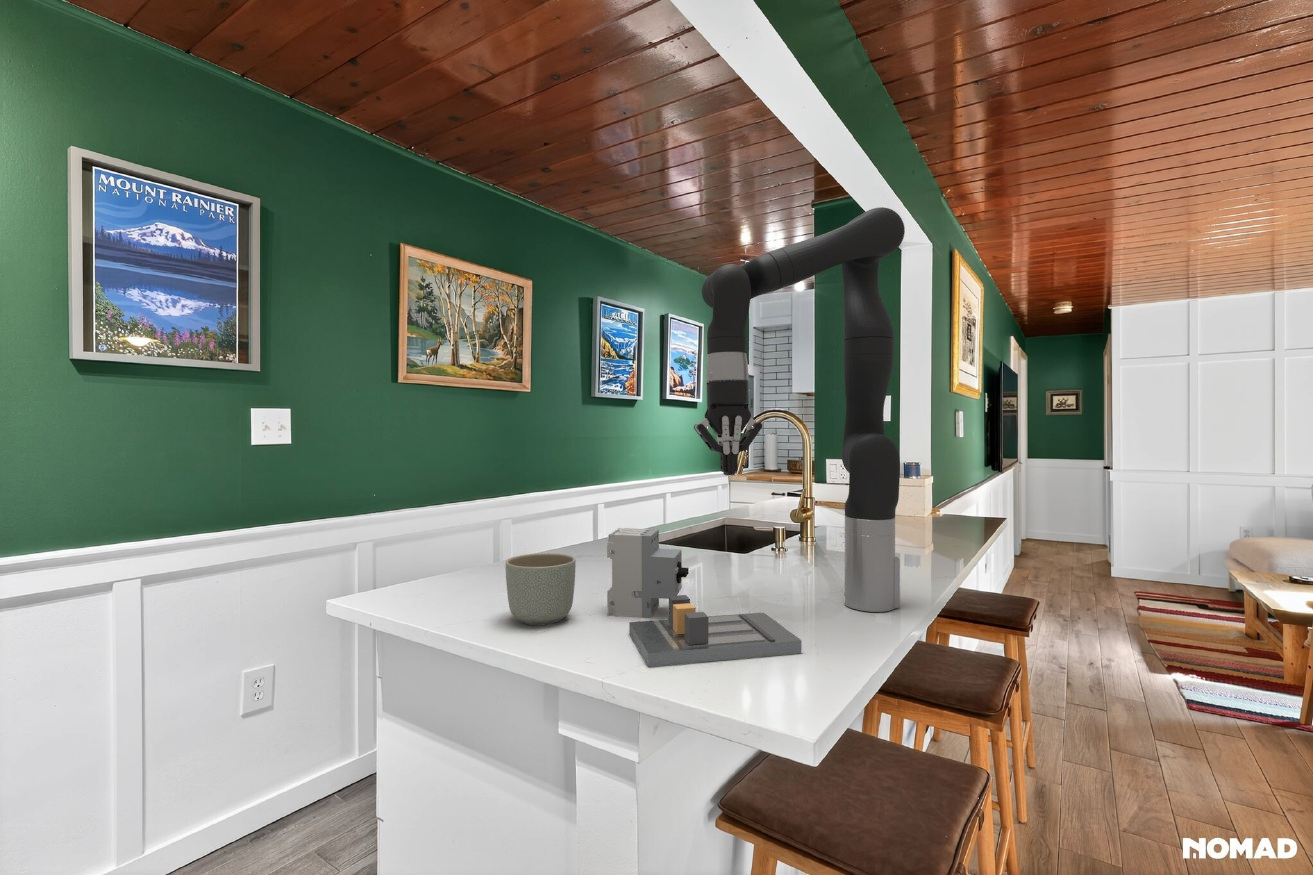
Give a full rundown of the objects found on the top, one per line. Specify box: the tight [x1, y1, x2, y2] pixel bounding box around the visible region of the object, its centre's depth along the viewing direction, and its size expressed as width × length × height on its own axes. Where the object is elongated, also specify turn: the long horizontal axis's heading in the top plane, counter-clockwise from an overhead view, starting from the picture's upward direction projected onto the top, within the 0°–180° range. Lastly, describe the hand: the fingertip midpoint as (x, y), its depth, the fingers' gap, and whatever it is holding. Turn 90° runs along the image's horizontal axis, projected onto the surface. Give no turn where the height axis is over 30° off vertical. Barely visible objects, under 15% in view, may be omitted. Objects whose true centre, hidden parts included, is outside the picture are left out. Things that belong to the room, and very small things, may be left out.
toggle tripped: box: [673, 602, 697, 634], centre depth 102 cm, size 3×3×4 cm
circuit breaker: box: [606, 527, 690, 619], centre depth 120 cm, size 8×14×15 cm, turn 78°
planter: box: [505, 552, 577, 626], centre depth 115 cm, size 12×12×11 cm
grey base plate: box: [628, 611, 803, 668], centre depth 103 cm, size 24×15×2 cm, turn 103°
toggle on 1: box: [668, 594, 691, 624], centre depth 107 cm, size 3×3×4 cm
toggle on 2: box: [684, 611, 709, 645], centre depth 97 cm, size 3×3×4 cm
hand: (729, 474), depth 116 cm, fingers closed
